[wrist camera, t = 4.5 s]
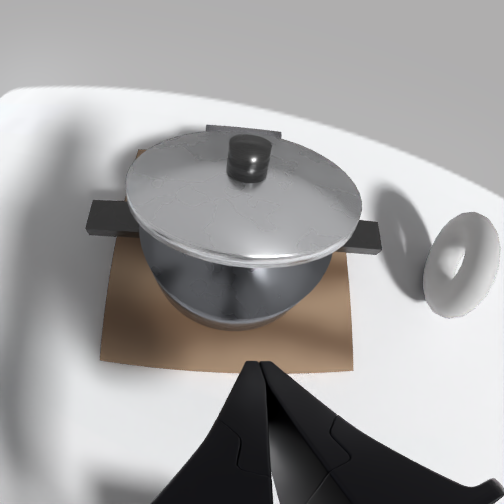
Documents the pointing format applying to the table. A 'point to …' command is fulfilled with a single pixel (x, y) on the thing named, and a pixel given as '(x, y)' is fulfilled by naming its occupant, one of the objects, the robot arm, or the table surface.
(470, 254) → the donut
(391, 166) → the table surface
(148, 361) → the walnut trivet
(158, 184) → the cooker lid
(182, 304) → the cooking pot
